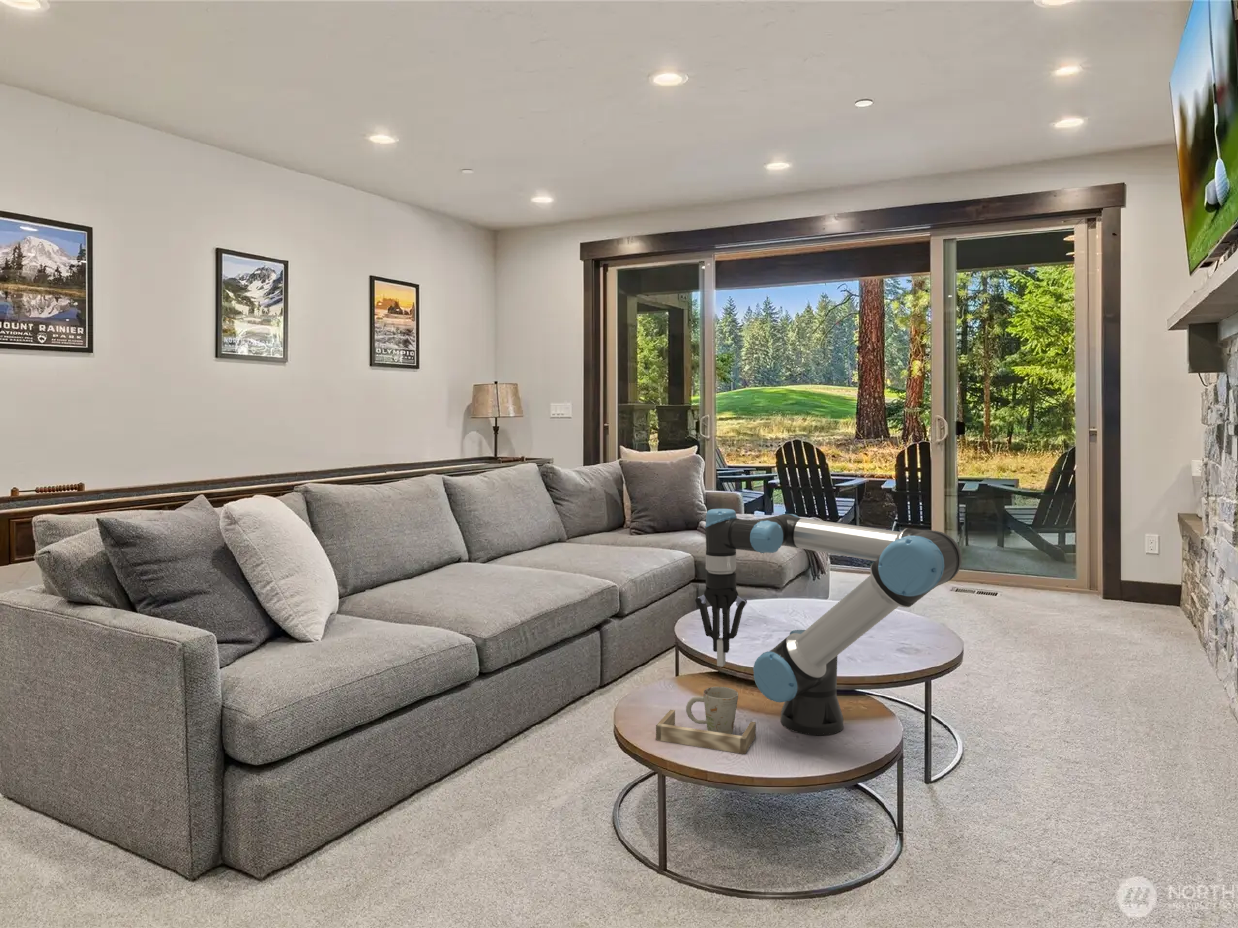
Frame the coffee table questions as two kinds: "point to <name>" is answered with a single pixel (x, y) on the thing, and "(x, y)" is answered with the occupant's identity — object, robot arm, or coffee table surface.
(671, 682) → the coffee table surface
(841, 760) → the coffee table surface
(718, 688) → the mug
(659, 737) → the bay
